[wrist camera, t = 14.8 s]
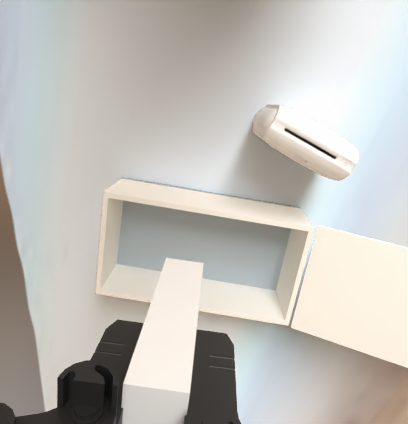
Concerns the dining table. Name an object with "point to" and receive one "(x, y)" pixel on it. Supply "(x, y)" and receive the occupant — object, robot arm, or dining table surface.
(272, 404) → the dining table surface
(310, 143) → the photo printer
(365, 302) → the mailer lid
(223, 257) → the box
